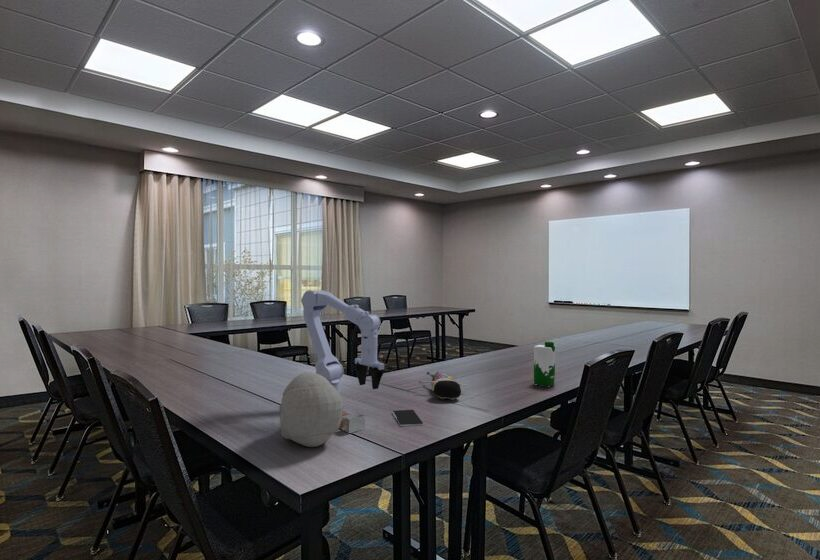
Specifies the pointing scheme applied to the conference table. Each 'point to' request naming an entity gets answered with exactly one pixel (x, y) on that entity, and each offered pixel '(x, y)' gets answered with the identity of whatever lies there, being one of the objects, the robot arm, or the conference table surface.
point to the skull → (310, 410)
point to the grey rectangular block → (353, 422)
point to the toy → (444, 386)
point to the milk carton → (544, 364)
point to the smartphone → (407, 418)
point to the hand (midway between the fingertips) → (368, 386)
